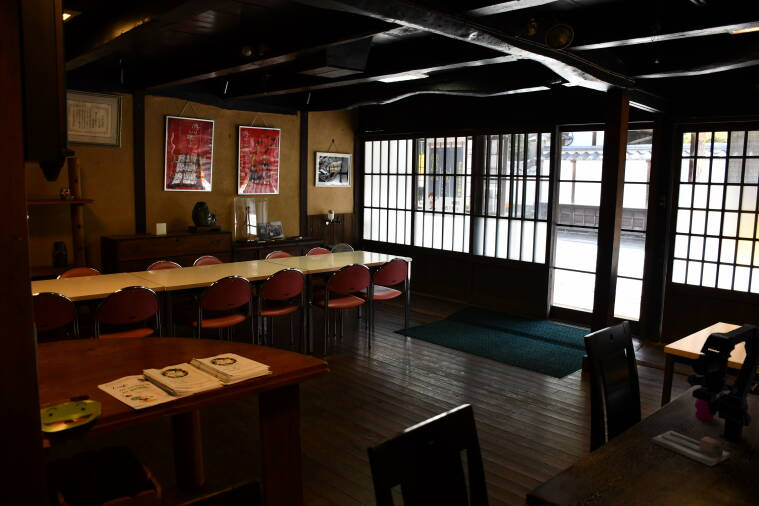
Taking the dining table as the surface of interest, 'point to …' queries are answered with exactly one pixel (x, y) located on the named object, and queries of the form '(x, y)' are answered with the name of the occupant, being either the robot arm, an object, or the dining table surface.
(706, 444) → the terracotta cardboard box
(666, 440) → the track board
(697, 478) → the dining table surface
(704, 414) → the pepper mill
